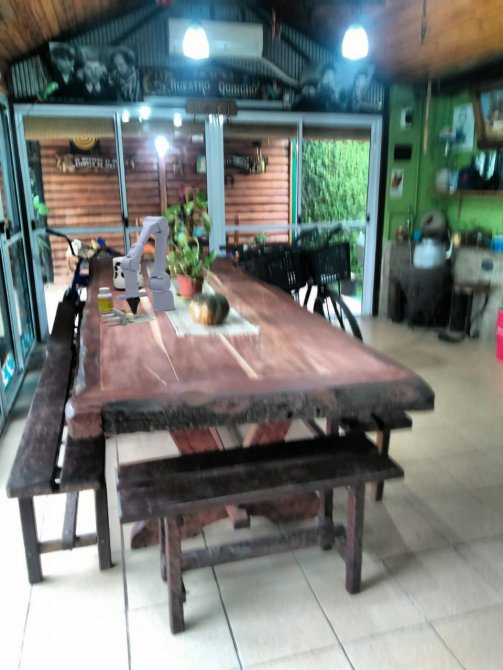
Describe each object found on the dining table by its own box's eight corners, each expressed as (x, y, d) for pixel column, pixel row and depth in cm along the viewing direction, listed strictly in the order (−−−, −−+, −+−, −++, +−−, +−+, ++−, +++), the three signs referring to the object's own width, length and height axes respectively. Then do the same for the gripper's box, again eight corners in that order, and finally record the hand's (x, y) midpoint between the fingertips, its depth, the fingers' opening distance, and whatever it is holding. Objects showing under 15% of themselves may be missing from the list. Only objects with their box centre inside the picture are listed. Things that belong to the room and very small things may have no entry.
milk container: (150, 287, 309) (147, 256, 304) (129, 292, 295) (126, 260, 290) (129, 284, 318) (126, 255, 313) (107, 290, 304) (104, 259, 299)
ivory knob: (131, 319, 231) (130, 311, 230) (134, 321, 228) (133, 313, 227) (107, 323, 225) (106, 315, 224) (109, 325, 222) (108, 317, 221)
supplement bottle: (110, 317, 241) (107, 289, 238) (97, 316, 243) (93, 289, 239) (116, 313, 247) (113, 287, 244) (103, 313, 249) (100, 286, 245)
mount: (144, 315, 243) (143, 303, 241) (156, 321, 232) (155, 308, 231) (113, 320, 235) (111, 308, 234) (123, 326, 224) (122, 314, 223)
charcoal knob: (125, 316, 237) (124, 308, 236) (128, 318, 234) (127, 310, 233) (101, 320, 231) (100, 312, 230) (104, 322, 228) (103, 314, 227)
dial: (130, 319, 234) (129, 308, 232) (132, 320, 232) (131, 309, 230) (125, 320, 232) (124, 309, 231) (127, 321, 231) (126, 310, 229)
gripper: (118, 287, 226) (122, 318, 230) (150, 283, 234) (152, 313, 238) (113, 285, 232) (116, 315, 236) (144, 281, 239) (146, 310, 243)
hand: (134, 313), depth 237 cm, fingers closed
